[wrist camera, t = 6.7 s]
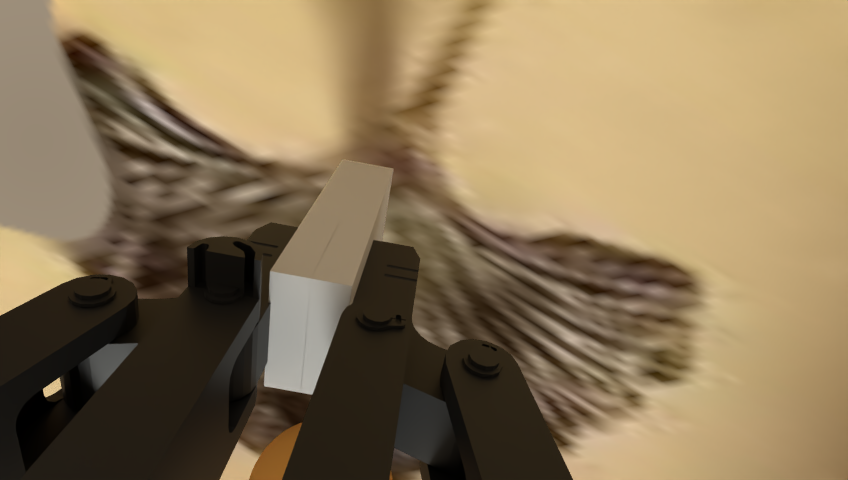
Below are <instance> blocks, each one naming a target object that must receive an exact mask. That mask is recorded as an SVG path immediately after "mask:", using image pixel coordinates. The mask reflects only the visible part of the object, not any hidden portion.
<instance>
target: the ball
mask: <svg viewBox="0 0 848 480" xmlns="http://www.w3.org/2000/svg"><path fill="white" fill-rule="evenodd" d="M301 425H302V423H299V424H297V425H294V426H292V427H290V428H289V429H287V430H285V431H284V432H282V433H281V434H280V435H278V436H277V437H276V438H275V439H274V440H273V441H272V442H271V443H270V444H269V445H268V446H267V447H266V449H265V450H264V451H263V452H262V454H261V456H260V457H259V459H258V460H257V462H256V464H255V466H254V468H253V470H252V473H251V476H250V479H249V480H282V478H283V475H284V472H285V469H286V467H287V464H288V461H289V458H290V456H291V453H292V450H293V447H294V444H295V442H296V439H297V436H298V433H299V431H300V428H301ZM389 480H392V474H391V472H390V478H389Z"/></svg>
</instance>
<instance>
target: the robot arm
mask: <svg viewBox="0 0 848 480" xmlns="http://www.w3.org/2000/svg"><path fill="white" fill-rule="evenodd" d="M392 175H393V169H392V168H387V167H382V166H376V165H371V164H366V163H361V162H355V161H350V160H345V159H342V161H341V162H340V164H339V165H338V167H337V169H336V170H335V172H334V173H333V175H332V176H331V178H330V179H329V181H328V182H327V184H326V185H325V187H324V189H323V190H322V192H321V193H320V195H319V196H318V198H317V199H316V201H315V202H314V204H313V206H312V207H311V209H310V210H309V212H308V213H307V215H306V216H305V218H304V219H303V221H302V223H301V224H300V226H299V227H293V226H288V225H282V224H277V223H269V224H267V225H265V226H262V227H260V228H258V229H256V230H255V231H254V232H253V233H252V235H251V236H250V237H249V238H248V239H247V240H244V239H241V238H236V237H225V236H223V237H211V238H206V239H203V240H199V241H196V242H195V243H193V244H191V245H190V246H188V247H187V258H188V287H187V288H186V290H185V291H184V292H183V293H182V294H181V295H180V296H179V298H170V299H138V296H137V289H136V288H135V286H134V284H133V283H132V282H130V281H128V280H127V279H125V278H122V277H117V276H112V275H90V276H85V277H80V278H76V279H73V280H71V281H68V282H65V283H63V284H61V285H59V286H57V287H55V288H53V289H51V290H49V291H47V292H45V293H43V294H41V295H39V296H37V297H36V298H34V299H32V300H30V301H28V302H26V303H24V304H22V305H20V306H18V307H16V308H14V309H12V310H10V311H9V312H7V313H5V314H3V315H1V316H0V480H219V479H220V477H221V475H222V473H223V471H224V469H225V467H226V465H227V462H228V460H229V458H230V456H231V454H232V452H233V450H234V448H235V446H236V444H237V441H238V439H239V437H240V435H241V433H242V431H243V429H244V427H245V425H246V423H247V421H248V418H249V416H250V414H251V412H252V410H253V408H254V406H255V402H256V396H257V382H258V380H259V378H260V376H261V374H262V372H263V370H264V368H265V377H264V386H266V387H272V388H278V389H283V390H289V391H294V392H300V393H306V394H311V395H312V397H311V400H310V403H309V406H308V408H307V411H306V414H305V417H304V419H303V422H302V425H301V428H300V431H299V433H298V436H297V439H296V442H295V444H294V447H293V450H292V453H291V456H290V458H289V461H288V464H287V467H286V469H285V472H284V475H283V478H282V480H389V478H390V472H391V465H392V458H393V451H394V448H396V449H398V450H400V451H402V452H404V453H406V454H408V455H410V456H412V457H414V458H416V459H418V460H420V472H421V477H422V480H573V478H572V476H571V474H570V472H569V470H568V468H567V466H566V464H565V462H564V460H563V458H562V455H561V453H560V451H559V449H558V447H557V445H556V443H555V441H554V439H553V437H552V435H551V433H550V430H549V428H548V426H547V424H546V422H545V420H544V418H543V416H542V414H541V412H540V410H539V407H538V405H537V403H536V401H535V399H534V397H533V395H532V393H531V391H530V389H529V387H528V385H527V382H526V380H525V378H524V376H523V374H522V372H521V370H520V368H519V366H518V364H517V362H516V361H515V360H514V358H513V357H512V356H511V355H510V354H509V353H508V352H506V351H505V350H504V349H502V348H501V347H499V346H497V345H494V344H492V343H489V342H487V341H481V340H474V339H471V340H461V341H459V342H457V343H455V344H453V345H451V346H450V347H449V349H448V350H445V349H443V348H440V347H438V346H436V345H434V344H432V343H430V342H428V341H427V340H426V339H424V338H423V337H422V336H420V334H419V333H418V332H417V331H416V330H415V328H414V326H413V324H412V312H413V305H414V298H415V291H416V284H417V277H418V270H419V263H420V258H419V256H418V254H417V253H416V251H415V249H414V248H413V247H409V246H404V245H399V244H393V243H388V242H382V239H383V232H384V226H385V220H386V213H387V207H388V201H389V194H390V188H391V182H392ZM59 377H60V381H61V387H62V389H60V390H59V391H57V392H56V393H55V394H53V395H50V396H48V397H46V398H45V396H44V393H43V388H45V387H46V386H48V385H49V384H50V383H52V382H53V381H55V380H56V379H58V378H59Z"/></svg>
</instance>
